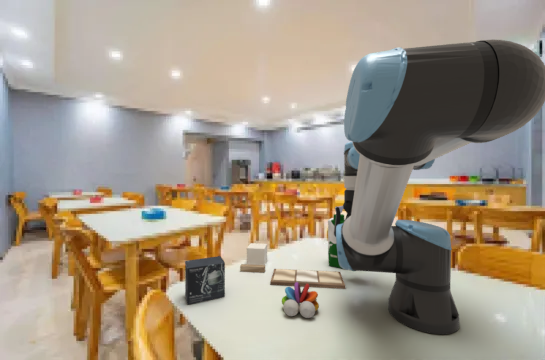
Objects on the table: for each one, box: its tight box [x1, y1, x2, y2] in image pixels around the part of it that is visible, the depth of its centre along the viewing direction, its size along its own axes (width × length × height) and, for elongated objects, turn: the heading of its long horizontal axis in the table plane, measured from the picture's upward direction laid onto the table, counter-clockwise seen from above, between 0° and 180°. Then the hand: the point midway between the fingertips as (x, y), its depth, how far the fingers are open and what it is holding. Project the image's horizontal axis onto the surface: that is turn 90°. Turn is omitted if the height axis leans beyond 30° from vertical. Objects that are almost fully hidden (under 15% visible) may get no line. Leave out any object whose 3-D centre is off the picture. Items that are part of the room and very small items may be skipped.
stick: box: [239, 263, 266, 274], centre depth 90 cm, size 2×9×2 cm, turn 83°
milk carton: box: [327, 213, 346, 270], centre depth 96 cm, size 9×9×20 cm
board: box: [269, 268, 346, 290], centre depth 83 cm, size 11×24×1 cm, turn 83°
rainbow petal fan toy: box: [281, 282, 320, 319], centre depth 64 cm, size 8×10×7 cm
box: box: [184, 255, 226, 306], centre depth 72 cm, size 11×7×10 cm, turn 115°
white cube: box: [246, 242, 268, 266], centre depth 98 cm, size 7×7×7 cm
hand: (356, 258), depth 81 cm, fingers closed on soda can, 7 cm apart
